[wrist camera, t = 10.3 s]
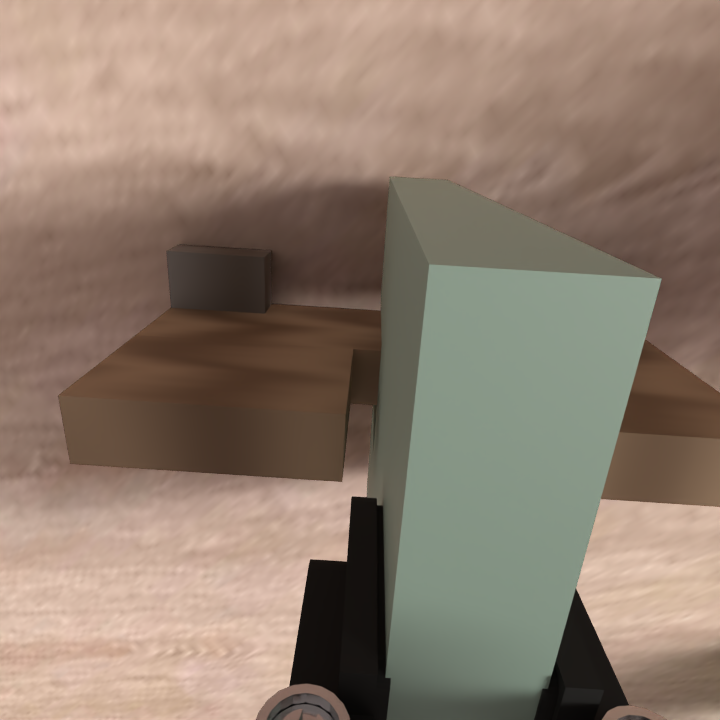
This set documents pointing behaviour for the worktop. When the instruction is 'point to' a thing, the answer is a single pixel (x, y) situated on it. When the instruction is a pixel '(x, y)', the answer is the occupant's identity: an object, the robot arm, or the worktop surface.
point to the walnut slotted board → (321, 391)
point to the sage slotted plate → (491, 441)
